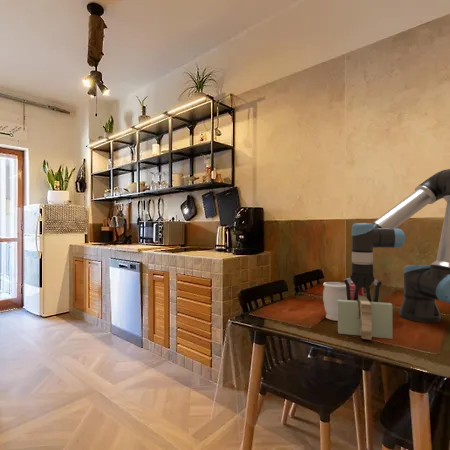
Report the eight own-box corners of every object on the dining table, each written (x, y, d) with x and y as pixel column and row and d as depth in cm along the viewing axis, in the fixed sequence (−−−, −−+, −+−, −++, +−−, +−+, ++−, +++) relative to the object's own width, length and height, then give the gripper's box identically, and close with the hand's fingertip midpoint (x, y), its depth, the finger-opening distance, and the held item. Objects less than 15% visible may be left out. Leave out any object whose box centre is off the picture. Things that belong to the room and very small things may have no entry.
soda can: (365, 311, 142) (365, 283, 142) (349, 310, 143) (349, 282, 143) (361, 307, 148) (361, 280, 149) (346, 306, 150) (346, 280, 150)
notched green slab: (390, 335, 109) (390, 302, 110) (392, 338, 107) (392, 305, 107) (337, 330, 115) (337, 299, 115) (338, 333, 112) (338, 301, 112)
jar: (328, 313, 138) (328, 280, 138) (351, 317, 131) (351, 283, 132) (319, 318, 130) (319, 284, 130) (343, 323, 123) (343, 287, 123)
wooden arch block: (371, 339, 104) (371, 304, 104) (361, 338, 105) (362, 304, 105) (365, 326, 117) (365, 295, 117) (357, 326, 118) (357, 295, 118)
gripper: (383, 262, 117) (383, 323, 117) (339, 261, 122) (339, 319, 122) (387, 265, 110) (387, 329, 110) (340, 263, 114) (340, 325, 114)
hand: (362, 324), depth 116 cm, fingers closed on wooden arch block, 3 cm apart
